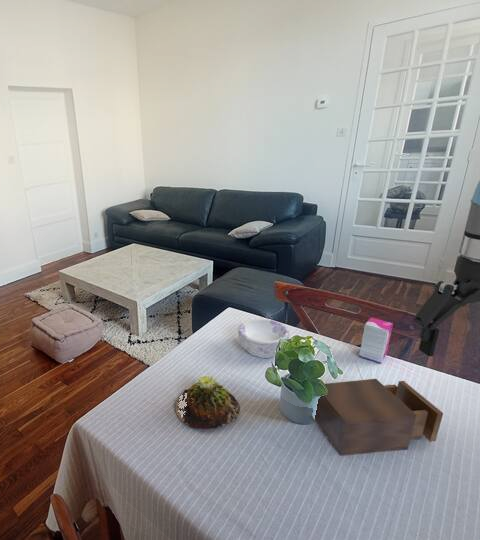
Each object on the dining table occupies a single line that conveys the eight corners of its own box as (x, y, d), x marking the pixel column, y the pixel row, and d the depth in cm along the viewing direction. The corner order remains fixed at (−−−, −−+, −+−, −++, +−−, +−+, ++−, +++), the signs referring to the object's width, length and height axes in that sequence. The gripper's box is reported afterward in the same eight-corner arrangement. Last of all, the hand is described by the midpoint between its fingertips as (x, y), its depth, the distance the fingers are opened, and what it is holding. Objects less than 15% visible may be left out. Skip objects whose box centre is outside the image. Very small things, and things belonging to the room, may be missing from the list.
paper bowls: (229, 343, 117) (229, 323, 114) (268, 333, 120) (268, 314, 117) (256, 369, 103) (257, 346, 100) (299, 357, 106) (301, 335, 103)
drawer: (402, 405, 83) (408, 380, 80) (441, 440, 73) (449, 412, 70) (342, 411, 83) (346, 386, 80) (372, 447, 73) (378, 419, 71)
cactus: (211, 380, 100) (211, 352, 97) (253, 413, 87) (254, 383, 83) (163, 403, 94) (161, 374, 90) (200, 443, 80) (199, 411, 77)
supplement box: (381, 364, 98) (388, 330, 94) (358, 357, 103) (363, 324, 99) (387, 355, 102) (393, 322, 98) (364, 348, 106) (369, 316, 102)
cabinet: (370, 410, 84) (376, 378, 80) (408, 449, 73) (416, 414, 70) (311, 415, 84) (314, 384, 81) (340, 455, 73) (345, 421, 70)
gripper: (530, 245, 68) (500, 335, 76) (403, 257, 69) (386, 345, 77) (577, 257, 61) (538, 355, 69) (435, 270, 62) (412, 365, 70)
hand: (458, 350), depth 73 cm, fingers open, 13 cm apart
